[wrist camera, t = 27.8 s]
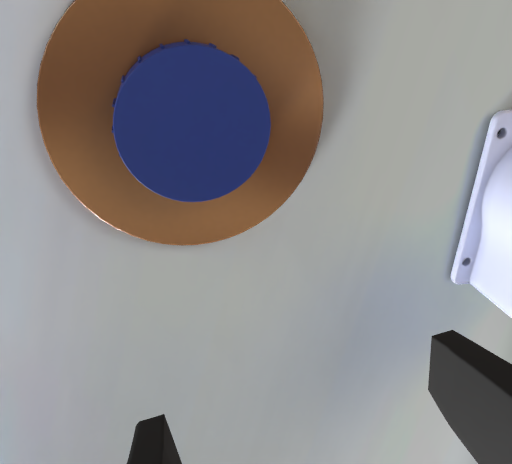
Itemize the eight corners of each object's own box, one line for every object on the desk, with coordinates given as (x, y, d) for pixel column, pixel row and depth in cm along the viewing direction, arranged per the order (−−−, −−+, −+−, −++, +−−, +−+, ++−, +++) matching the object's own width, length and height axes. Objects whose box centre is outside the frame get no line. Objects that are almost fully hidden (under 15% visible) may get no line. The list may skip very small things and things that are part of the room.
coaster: (309, 229, 21) (312, 234, 21) (67, 251, 19) (65, 257, 18) (331, -36, 16) (337, -37, 16) (7, -51, 14) (3, -53, 14)
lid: (250, 26, 16) (260, 28, 15) (270, 171, 19) (281, 184, 18) (92, 56, 15) (87, 60, 14) (137, 202, 18) (137, 219, 17)
